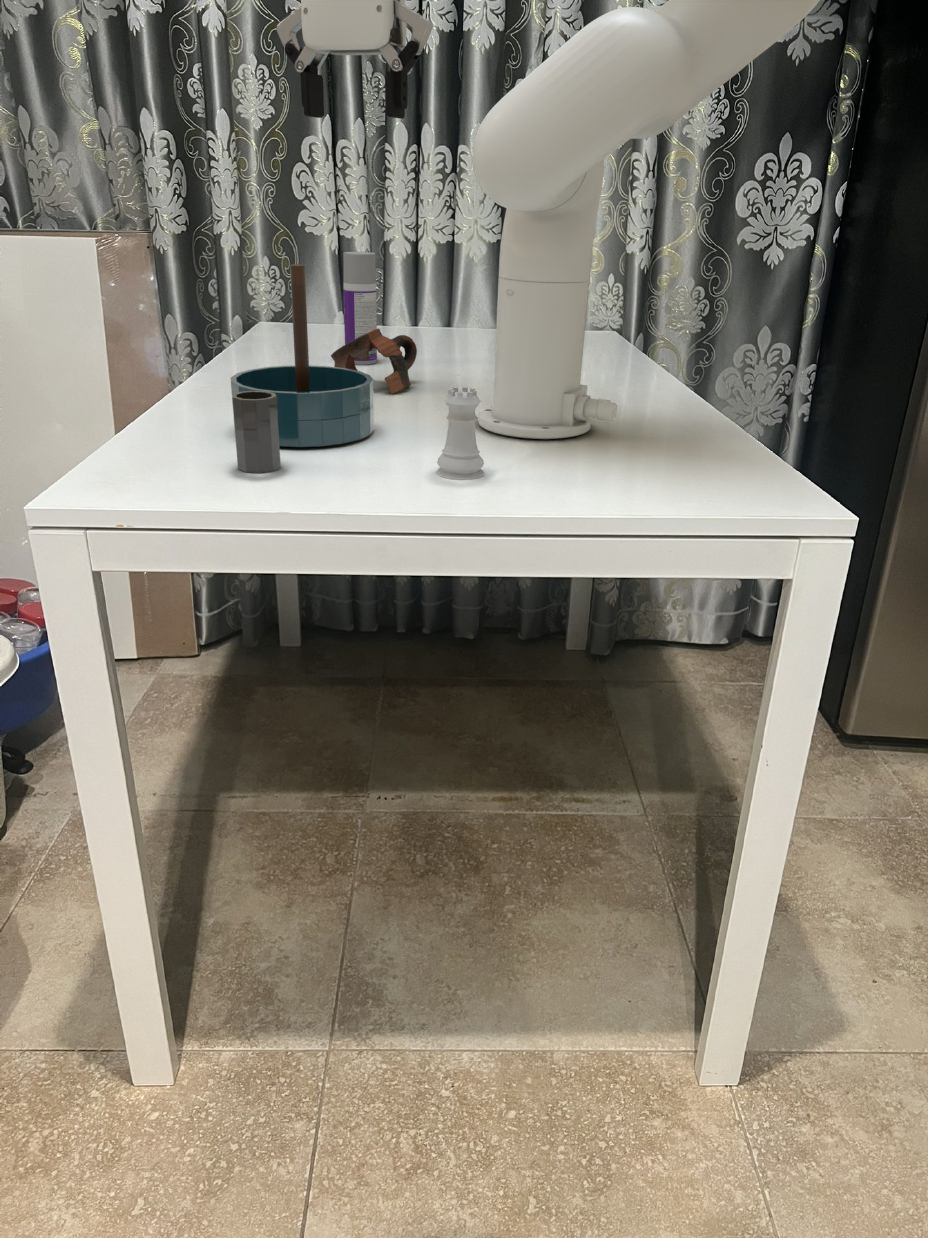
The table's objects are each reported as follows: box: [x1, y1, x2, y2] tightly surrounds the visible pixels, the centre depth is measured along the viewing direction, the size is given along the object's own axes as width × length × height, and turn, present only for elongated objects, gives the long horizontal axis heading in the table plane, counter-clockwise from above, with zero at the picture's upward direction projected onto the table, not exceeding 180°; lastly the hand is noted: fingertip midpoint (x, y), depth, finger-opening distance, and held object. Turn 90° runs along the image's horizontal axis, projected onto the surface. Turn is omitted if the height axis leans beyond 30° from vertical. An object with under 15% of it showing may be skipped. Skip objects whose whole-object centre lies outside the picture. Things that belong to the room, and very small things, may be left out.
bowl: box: [230, 364, 375, 448], centre depth 93 cm, size 14×14×6 cm
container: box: [343, 251, 378, 366], centre depth 131 cm, size 5×5×15 cm
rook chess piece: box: [435, 386, 485, 481], centre depth 82 cm, size 4×4×8 cm
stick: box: [289, 263, 310, 392], centre depth 91 cm, size 1×1×16 cm
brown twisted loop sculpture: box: [330, 328, 418, 395], centre depth 118 cm, size 12×10×8 cm
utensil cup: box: [231, 391, 282, 475], centre depth 81 cm, size 4×4×7 cm
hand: (354, 116), depth 96 cm, fingers open, 9 cm apart
